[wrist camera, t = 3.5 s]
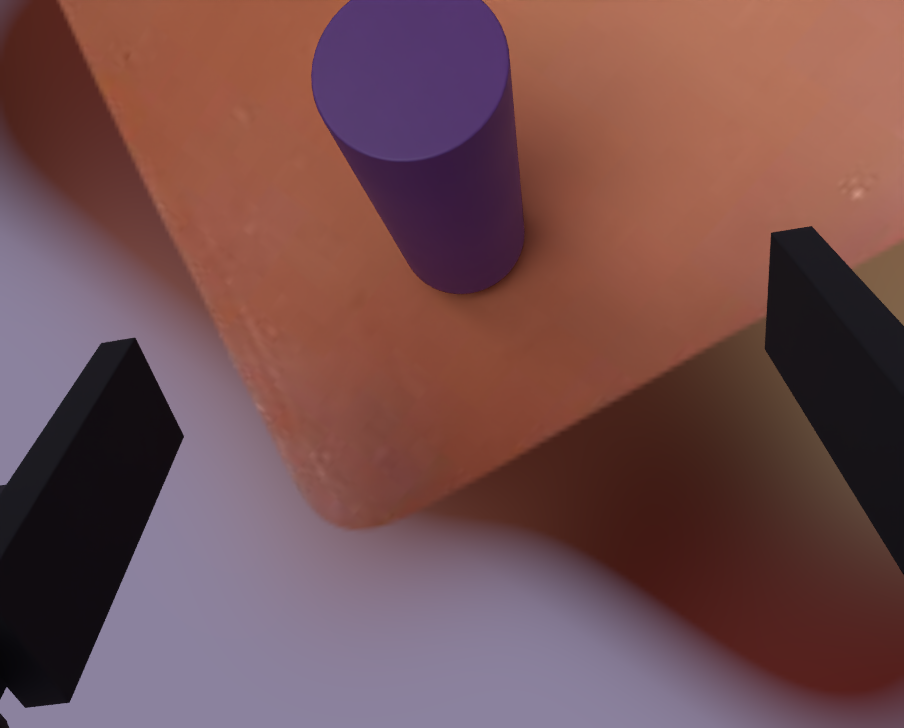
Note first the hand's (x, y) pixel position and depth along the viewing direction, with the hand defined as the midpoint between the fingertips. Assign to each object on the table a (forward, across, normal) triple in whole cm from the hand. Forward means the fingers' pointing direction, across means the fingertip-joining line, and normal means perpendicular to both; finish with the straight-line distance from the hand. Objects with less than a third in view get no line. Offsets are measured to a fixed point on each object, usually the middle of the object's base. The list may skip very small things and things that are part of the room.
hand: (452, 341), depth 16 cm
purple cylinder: (+12, 0, -4) cm, 13 cm away
